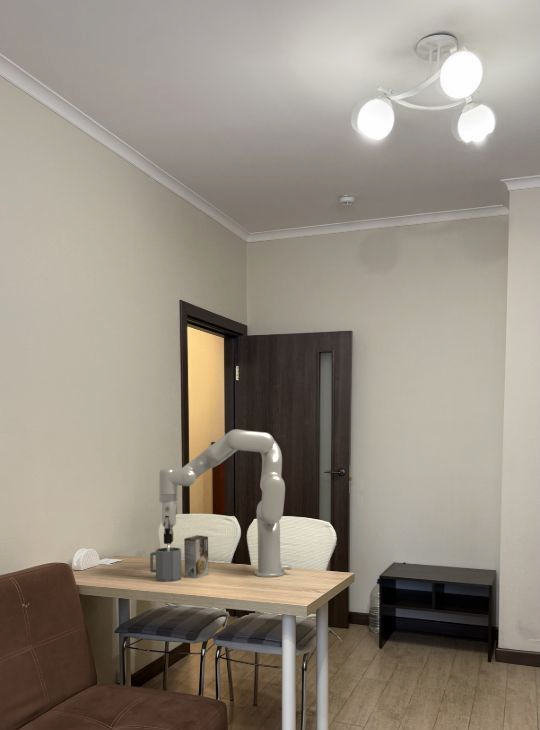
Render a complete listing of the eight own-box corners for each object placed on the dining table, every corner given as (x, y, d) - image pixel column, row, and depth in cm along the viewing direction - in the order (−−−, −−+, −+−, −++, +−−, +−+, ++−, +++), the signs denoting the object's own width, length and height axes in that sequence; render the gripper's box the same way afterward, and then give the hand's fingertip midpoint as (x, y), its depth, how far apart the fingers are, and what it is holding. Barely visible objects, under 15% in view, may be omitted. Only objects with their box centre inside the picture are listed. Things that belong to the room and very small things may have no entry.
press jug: (182, 576, 293) (182, 547, 294) (179, 581, 283) (179, 551, 284) (152, 576, 293) (152, 547, 294) (148, 582, 283) (148, 552, 284)
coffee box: (196, 573, 299) (196, 535, 300) (209, 574, 296) (208, 536, 297) (183, 577, 291) (183, 538, 293) (196, 578, 288) (195, 539, 289)
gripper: (175, 500, 283) (175, 546, 281) (179, 496, 299) (179, 539, 298) (156, 500, 283) (156, 546, 281) (161, 496, 299) (162, 539, 298)
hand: (168, 542), depth 289 cm, fingers closed on plunger, 4 cm apart
